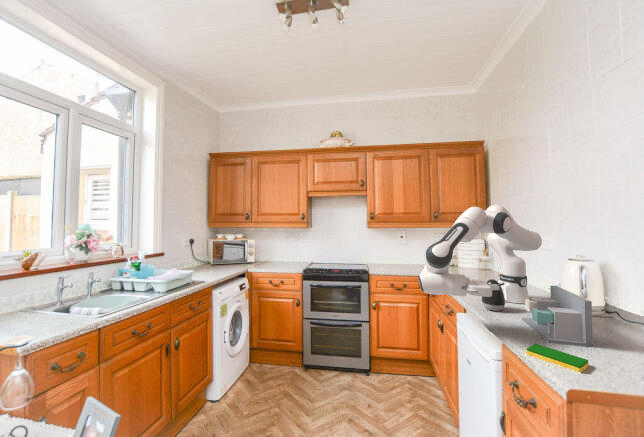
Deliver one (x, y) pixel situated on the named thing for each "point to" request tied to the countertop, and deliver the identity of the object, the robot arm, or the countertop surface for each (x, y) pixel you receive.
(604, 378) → the countertop surface
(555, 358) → the dish sponge
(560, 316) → the grey angled box fixture
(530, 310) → the ivory button
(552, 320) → the teal button
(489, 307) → the pump dispenser
